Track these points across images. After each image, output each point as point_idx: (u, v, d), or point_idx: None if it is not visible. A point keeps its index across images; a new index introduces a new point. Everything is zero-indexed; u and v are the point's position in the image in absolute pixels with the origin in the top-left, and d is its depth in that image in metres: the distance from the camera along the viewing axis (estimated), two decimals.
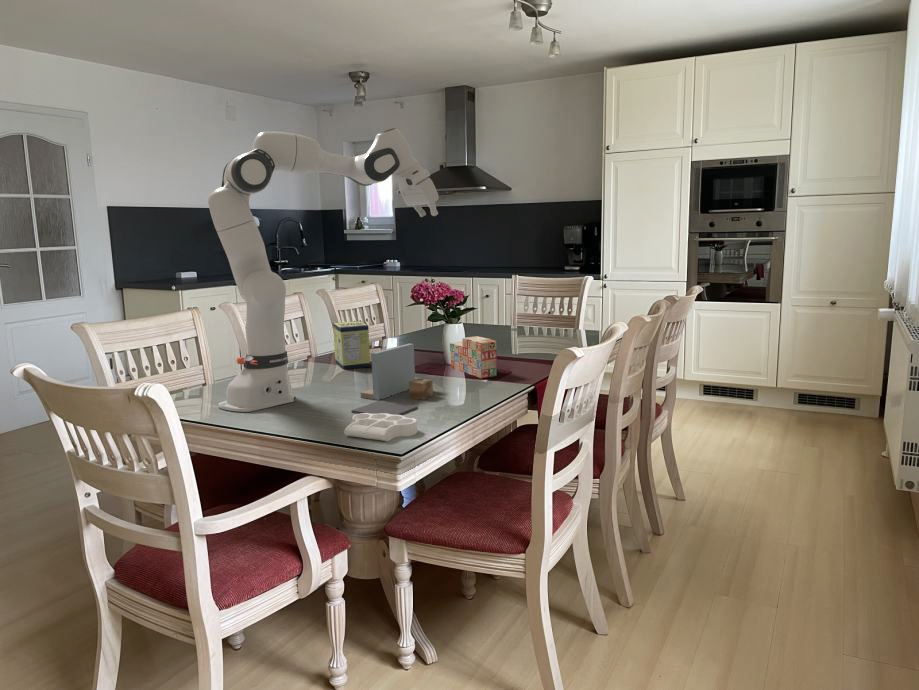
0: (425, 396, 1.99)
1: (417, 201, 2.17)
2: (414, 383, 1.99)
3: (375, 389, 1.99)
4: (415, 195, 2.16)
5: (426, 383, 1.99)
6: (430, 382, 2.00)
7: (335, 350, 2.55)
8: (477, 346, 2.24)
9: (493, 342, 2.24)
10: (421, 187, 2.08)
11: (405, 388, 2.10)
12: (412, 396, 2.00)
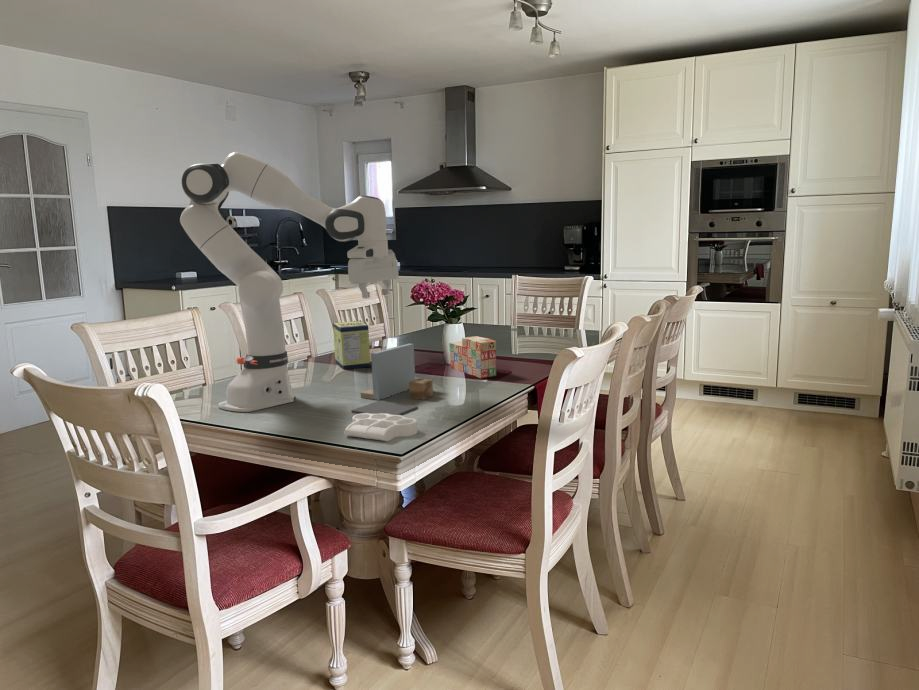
0: (425, 396, 1.99)
1: None
2: (414, 383, 1.99)
3: (375, 389, 1.99)
4: None
5: (426, 383, 1.99)
6: (430, 382, 2.00)
7: (335, 350, 2.55)
8: (477, 346, 2.24)
9: (493, 342, 2.25)
10: (348, 263, 1.96)
11: (405, 388, 2.10)
12: (412, 396, 2.00)
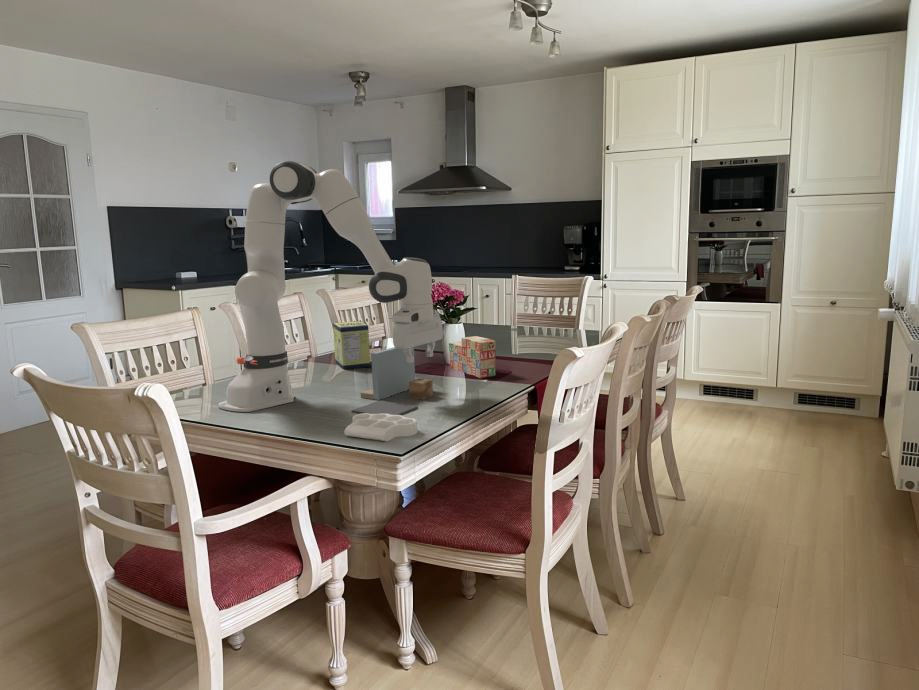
0: (425, 396, 1.99)
1: None
2: (414, 383, 1.99)
3: (375, 389, 1.99)
4: None
5: (426, 383, 1.99)
6: (430, 382, 2.00)
7: (335, 350, 2.55)
8: (476, 346, 2.25)
9: (492, 342, 2.25)
10: (393, 328, 1.91)
11: (405, 388, 2.10)
12: (412, 396, 2.00)
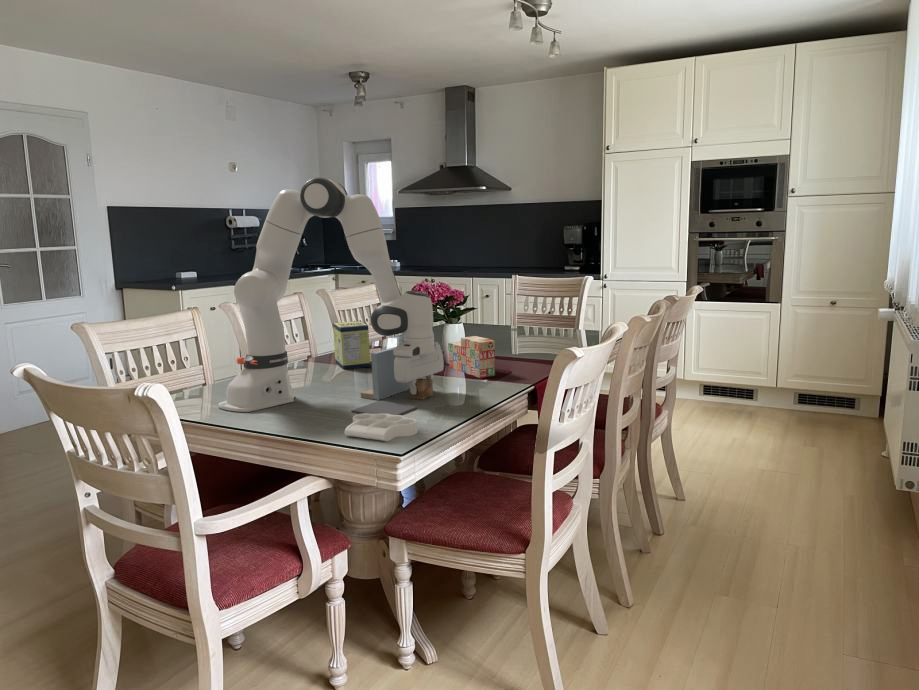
0: (425, 396, 1.99)
1: None
2: None
3: (375, 389, 1.99)
4: None
5: (426, 383, 1.99)
6: (430, 382, 2.00)
7: (335, 350, 2.55)
8: (475, 346, 2.25)
9: (491, 342, 2.25)
10: (394, 361, 1.93)
11: (405, 388, 2.10)
12: (412, 396, 2.00)
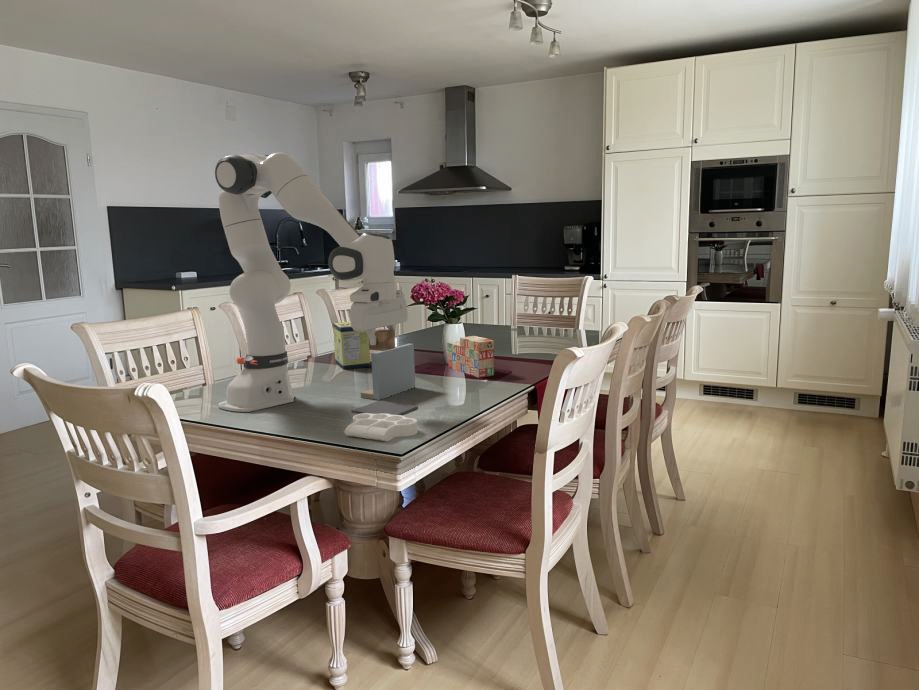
0: (386, 347, 1.82)
1: None
2: (374, 333, 1.82)
3: (375, 389, 1.99)
4: None
5: (387, 333, 1.82)
6: (392, 332, 1.84)
7: (335, 350, 2.55)
8: (475, 346, 2.25)
9: (490, 342, 2.25)
10: (351, 308, 1.76)
11: (405, 388, 2.10)
12: (372, 347, 1.83)
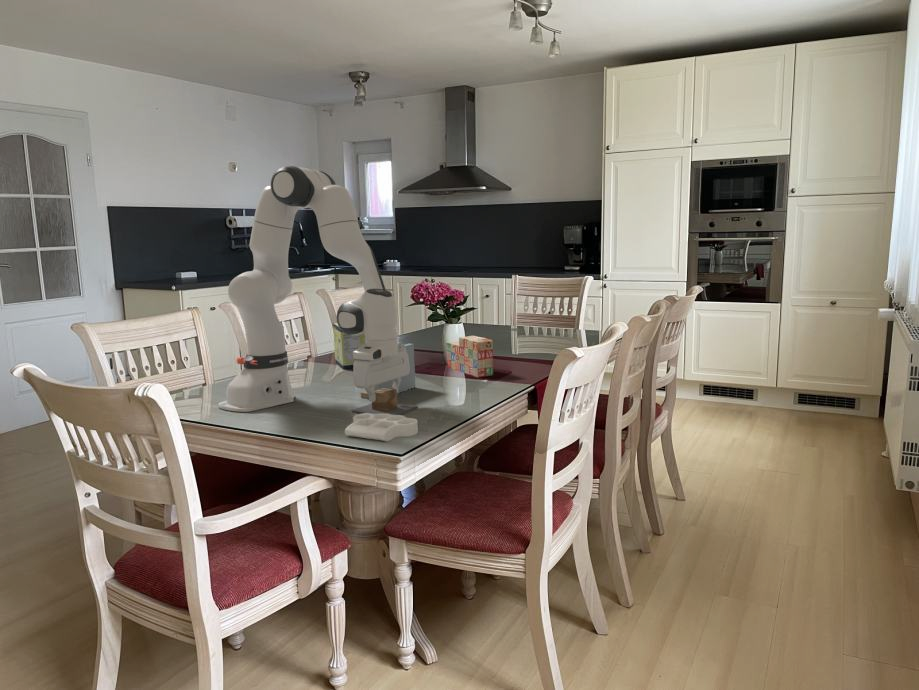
0: (388, 407, 1.85)
1: None
2: (377, 393, 1.85)
3: (375, 389, 1.99)
4: None
5: (389, 393, 1.85)
6: (394, 392, 1.86)
7: (335, 350, 2.55)
8: (474, 345, 2.26)
9: (489, 341, 2.26)
10: (354, 365, 1.78)
11: (405, 388, 2.10)
12: (375, 407, 1.86)
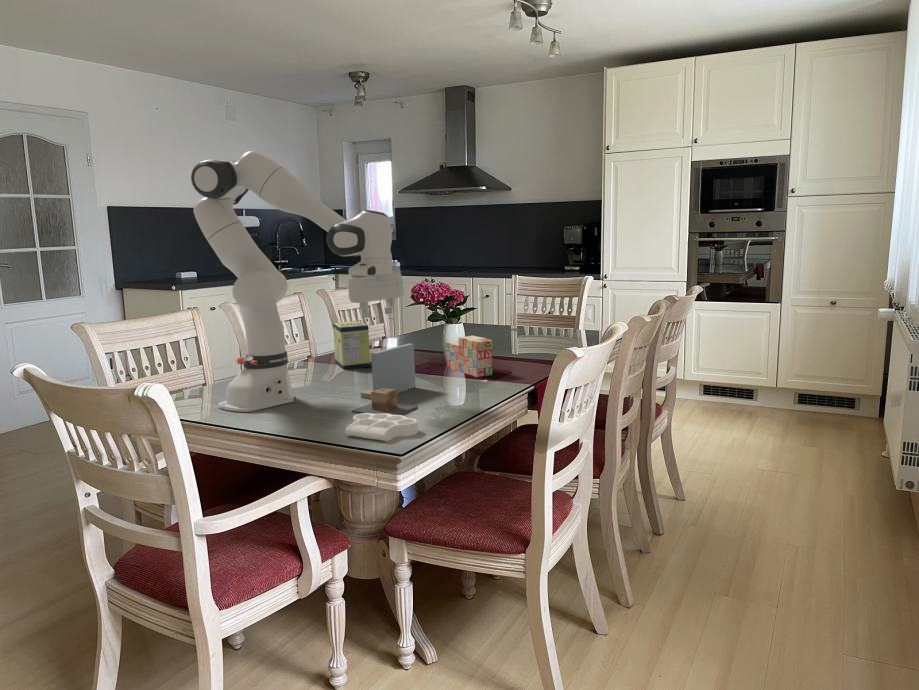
0: (388, 407, 1.85)
1: None
2: (377, 393, 1.85)
3: (375, 389, 1.99)
4: None
5: (389, 393, 1.85)
6: (394, 392, 1.86)
7: (335, 350, 2.55)
8: (473, 345, 2.26)
9: (489, 341, 2.26)
10: (349, 281, 1.87)
11: (405, 388, 2.10)
12: (375, 407, 1.86)
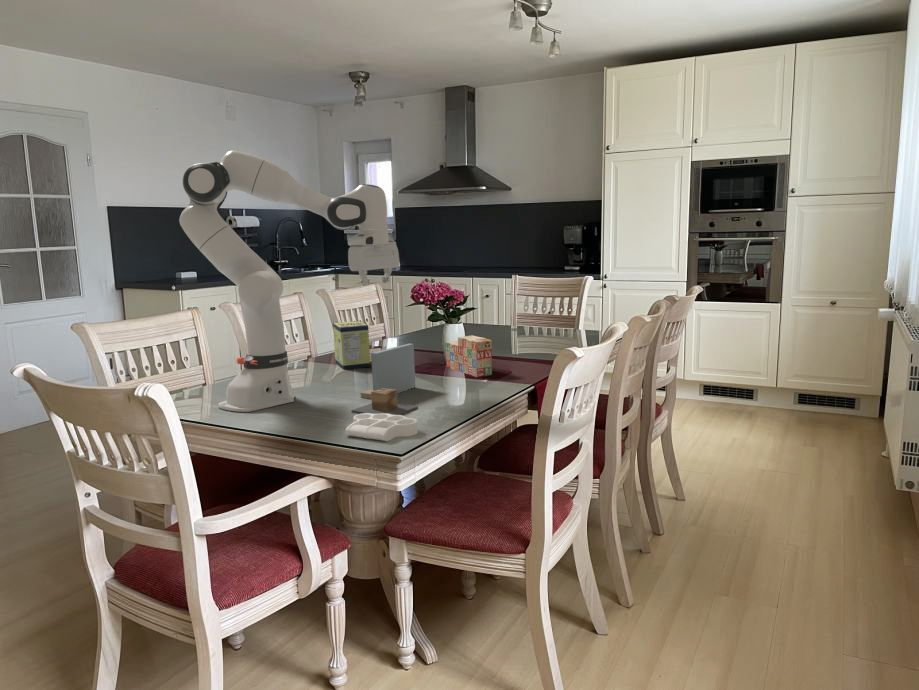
0: (388, 407, 1.85)
1: None
2: (377, 393, 1.85)
3: (375, 389, 1.99)
4: None
5: (389, 393, 1.85)
6: (394, 392, 1.86)
7: (335, 350, 2.55)
8: (472, 345, 2.26)
9: (488, 341, 2.26)
10: (349, 250, 2.00)
11: (405, 388, 2.10)
12: (375, 407, 1.86)
